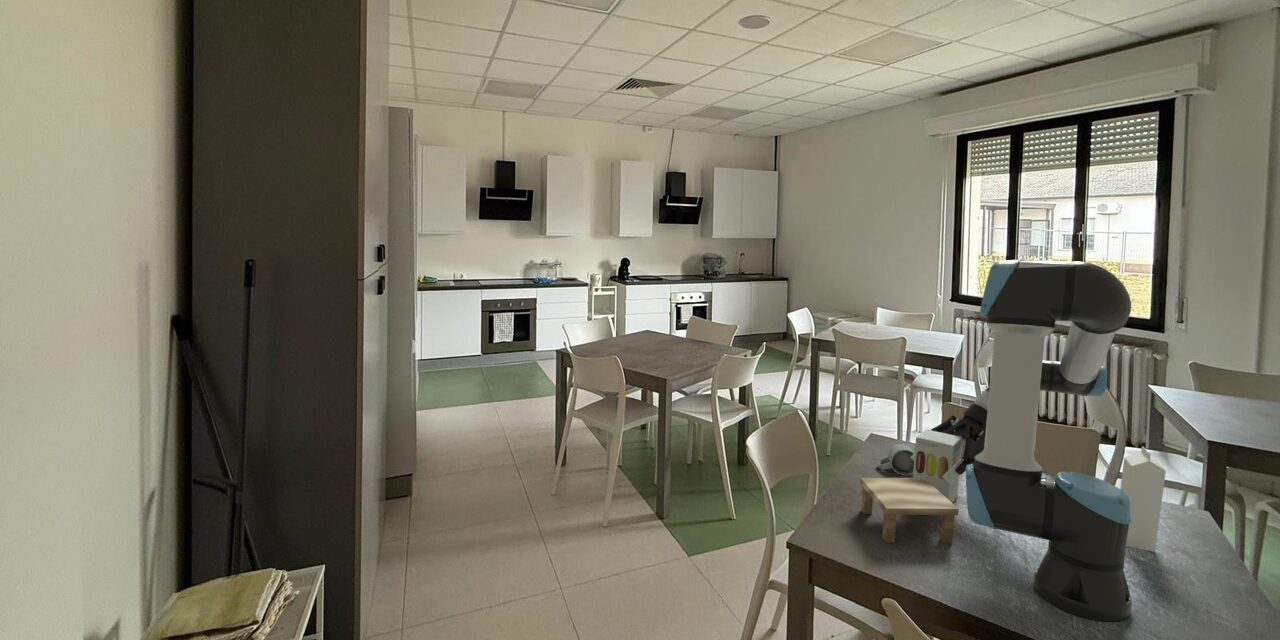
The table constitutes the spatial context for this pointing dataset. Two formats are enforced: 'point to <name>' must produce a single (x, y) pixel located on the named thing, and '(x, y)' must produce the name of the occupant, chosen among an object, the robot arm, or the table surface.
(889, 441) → the table surface
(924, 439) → the supplement box
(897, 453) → the ceramic mug
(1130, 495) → the milk
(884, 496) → the footstool
